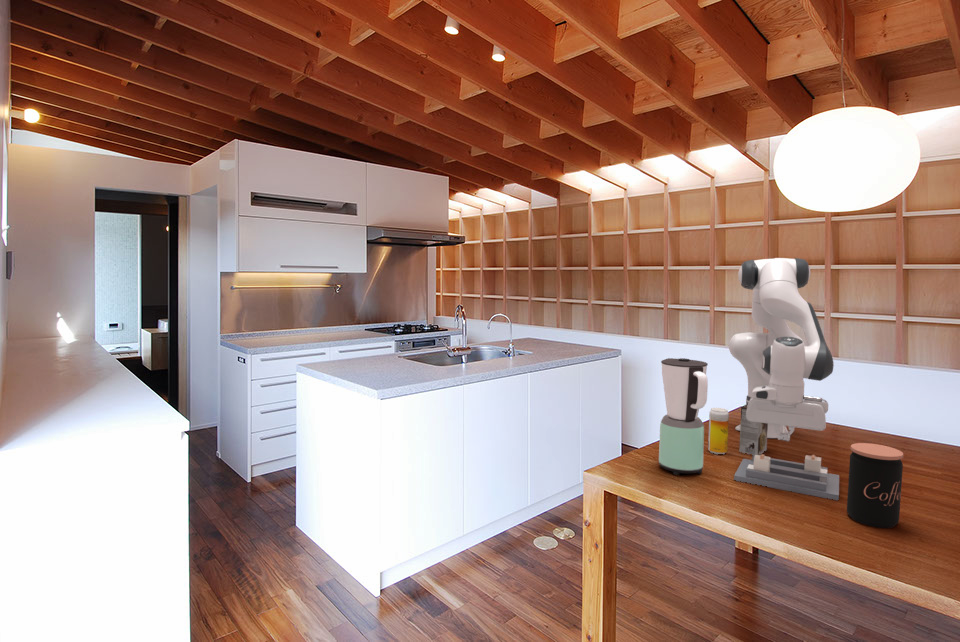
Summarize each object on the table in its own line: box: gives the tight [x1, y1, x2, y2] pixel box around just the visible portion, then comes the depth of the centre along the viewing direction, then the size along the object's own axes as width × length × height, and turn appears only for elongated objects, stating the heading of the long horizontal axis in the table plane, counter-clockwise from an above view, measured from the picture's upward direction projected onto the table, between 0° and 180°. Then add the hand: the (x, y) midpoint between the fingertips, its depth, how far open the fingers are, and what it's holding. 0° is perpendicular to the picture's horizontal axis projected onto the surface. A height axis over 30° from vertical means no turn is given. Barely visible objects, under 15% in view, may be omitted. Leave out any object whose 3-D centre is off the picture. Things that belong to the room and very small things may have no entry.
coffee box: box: [739, 403, 768, 456], centre depth 187 cm, size 9×6×16 cm
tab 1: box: [753, 453, 772, 472], centre depth 161 cm, size 4×4×6 cm
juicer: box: [658, 357, 709, 476], centre depth 168 cm, size 19×13×35 cm
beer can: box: [707, 407, 730, 455], centre depth 186 cm, size 6×6×15 cm
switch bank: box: [733, 455, 840, 501], centre depth 161 cm, size 18×26×4 cm
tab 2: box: [804, 454, 822, 473], centre depth 161 cm, size 4×4×6 cm
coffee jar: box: [846, 442, 904, 529], centre depth 135 cm, size 11×11×18 cm
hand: (783, 440), depth 158 cm, fingers closed
